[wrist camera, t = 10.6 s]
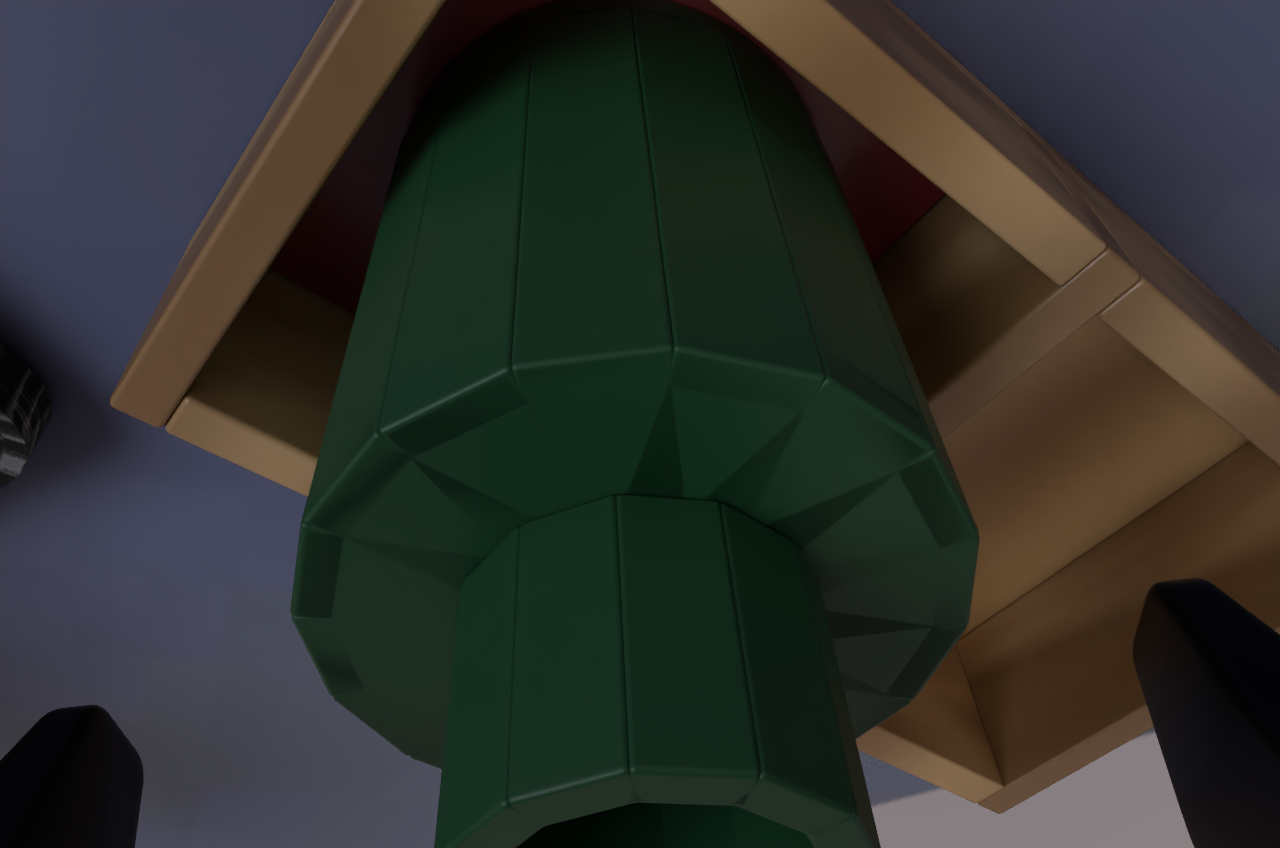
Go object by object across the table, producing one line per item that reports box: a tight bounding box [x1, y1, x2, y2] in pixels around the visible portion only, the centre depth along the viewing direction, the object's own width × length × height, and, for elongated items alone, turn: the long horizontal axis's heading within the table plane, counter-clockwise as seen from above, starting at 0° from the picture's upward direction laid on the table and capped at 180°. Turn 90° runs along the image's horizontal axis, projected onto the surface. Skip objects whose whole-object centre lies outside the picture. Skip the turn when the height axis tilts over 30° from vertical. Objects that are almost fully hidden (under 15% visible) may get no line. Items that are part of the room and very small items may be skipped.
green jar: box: [290, 0, 980, 848], centre depth 12 cm, size 6×6×10 cm
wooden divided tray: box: [110, 0, 1280, 814], centre depth 16 cm, size 17×9×4 cm, turn 52°
